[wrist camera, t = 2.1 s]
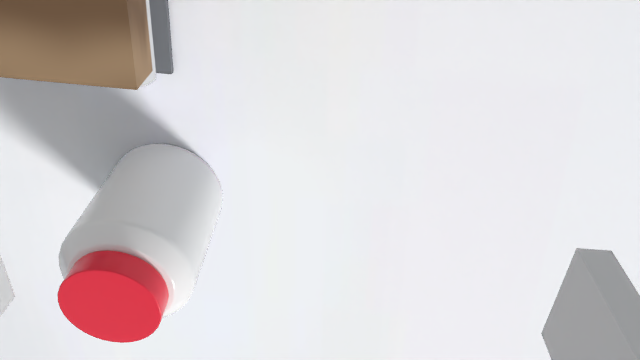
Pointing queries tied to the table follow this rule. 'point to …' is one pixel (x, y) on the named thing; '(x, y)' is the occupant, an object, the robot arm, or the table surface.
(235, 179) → the table surface
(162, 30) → the track
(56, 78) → the slab
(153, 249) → the pill bottle
